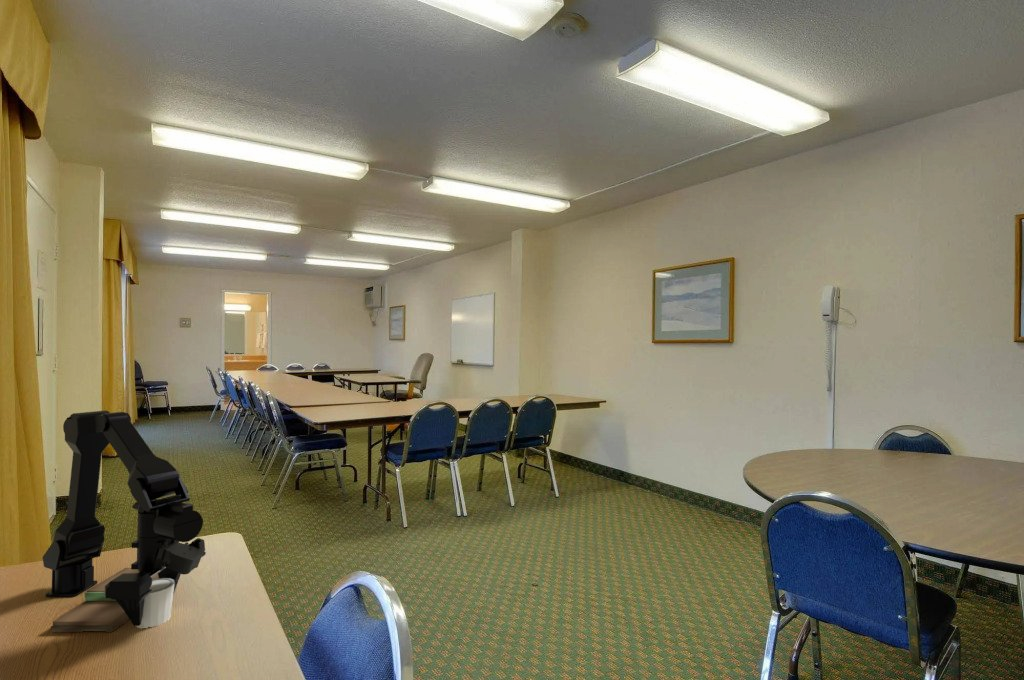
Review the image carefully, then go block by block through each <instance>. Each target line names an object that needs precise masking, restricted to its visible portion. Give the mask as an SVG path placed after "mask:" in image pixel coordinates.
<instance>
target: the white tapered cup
mask: <svg viewBox="0 0 1024 680" xmlns="http://www.w3.org/2000/svg"><path fill="white" fill-rule="evenodd" d="M174 584H175V582H174V580H173V579H171V578H159V579H153V580H152V585H151V587H150V589H152V591H151V592H150V593H149V594H148V595H147V596H146V597H145V600H144V608H143V616H142V621H141V625H139V626H137V627H136V628H138V629H142V628H146V629H149V628H148V627H152V628H154V627H153V626H156V627H159V626H161V625H163V624H162V623H164V622H165V623H167V622H168V621H169V620H170V619H171V615H172V608H173V599H174V595H173V592H174ZM174 593H175V592H174ZM167 620H168V621H167ZM166 621H167V622H166ZM165 623H164V624H165ZM160 624H161V625H160ZM158 625H159V626H158Z"/></svg>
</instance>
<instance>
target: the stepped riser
mask: <svg viewBox="0 0 1024 680" xmlns="http://www.w3.org/2000/svg"><path fill="white" fill-rule="evenodd" d="M139 572H140V571H138V569H131V567H124V568H122V569H121V570H119V571H118V572H116V573H114V574H112V575H111V576H110V577H107V578H106V579H104V580H103V581H101V582H98V583H97V584H95V585H93V586H92V587H90V588H88V589H86V591H84V602H82V603H80V604H79V605H77V606H75V607H74V608H73V609H71V610H69V611H68V612H65V613H64V614H63V615H61V616H59V617H57V618H56V619H55V620H53V621H52V625H51V626H50V630H52V632H51V633H84V632H83V631H106V632H105V633H112V632H114V631H116V630H117V629H118V628H120V627H121V626H122V625H124V624H125V623H127V622H128V621H129V620H130V619H129V617H128V616H127V614H126V613H125V611H124V610H123V609H122V607H121V606H120V605H119V604H118V603H117V601H116V600H111V599H110V598H105V586H106V585H107V584H108V583H109V582H110V581H112V580H113V579H115V578H117V577H118V576H120V575H121V574H123V573H139ZM151 578H152V580H153V579H159V577H158V573H157V574H156V575H154V576H153V577H151ZM119 626H120V627H119Z"/></svg>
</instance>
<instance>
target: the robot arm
mask: <svg viewBox="0 0 1024 680" xmlns="http://www.w3.org/2000/svg"><path fill="white" fill-rule="evenodd" d="M62 429H63V430H62V431H63V433H64V442H66V444H67V446H68V447H69V448H70V449H71V451H72V461H71V472H70V480H69V489H68V490H69V491H68V499H67V507H66V517H65V518H64V519H63V521H62V522H61V523H60V524H59V525H58V527H57V528H56V530H55V531H54V536H53V540H52V543H51V544H50V546H49V547H48V549H47V550H46V551H45V553H44V555H42V563H43V564H42V565H43V567H44V568H45V569H48V570H49V569H50V570H51V590H50V591H48V592H46V593H45V595H44V596H45V597H75V596H78V595H79V594H81V593H83V592H86V591H87V590H89V589H91V588H92V587H94V586H96V585H97V584H98V580H95V573H94V572H95V566H94V565H93V559H95V558H99V557H100V556H101V553H102V550H103V546H104V542H105V529H106V528H105V525H103V524H101V522H100V521H99V519H98V518H97V517H96V510H97V501H98V491H99V482H100V474H101V463H102V456H103V452H104V451H105V449H106V448H107V447H108V445H110V446H111V447H112V448H113V450H114V452H115V453H116V455H117V456H118V458H119V459H120V461H121V462H122V464H123V465H124V466H125V468H126V469H127V471H128V473H129V475H128V479H127V486H128V487H129V490H130V491H129V492H130V494H131V496H132V497H133V498H134V501H136V502H135V503H133V504H132V506H131V508H132V509H133V510H137V528H136V529H137V531H136V534H137V535H136V537H137V538H136V540H134V541H132V542H131V549H136V560H135V562H133V563H131V564H130V565H131V566H130V568H131V569H138V571H140V572H139V573H123V574H121V575H120V576H118V577H117V578H115V579H113V580H112V581H110V582H109V583H108V584H107V585H106V586H105V598H110V599H111V600H116V601H117V603H118V604H119V605H120V606H121V607H122V609H123V610H124V611H125V613H126V614H127V616H128V617H129V620H130V623H131V624H132V625H133V626H134V627H136V626H139V625H141V621H142V616H143V608H144V600H145V597H146V596H147V595H148V594H149V593H150V592H151V591H152V589H150V587H151V585H152V578H151V577H153V576H154V575H156V574H157V573H158V577H159V578H171V579H173V580H174V582H175V584H174V592H173V596H174V595H175V591H176V589H177V585H178V583H179V580H180V577H181V576H182V575H188V574H190V573H191V572H192V571H193V570H194V569H197V568H198V567H199V565H200V562H201V560H202V558H203V557H204V556H206V553H207V552H206V547H205V546H206V545H205V539H204V538H203V539H202V538H199V537H197V536H198V535H199V534H200V532H201V531H202V529H203V526H204V525H203V524H204V519H203V517H202V515H201V513H200V512H198V511H197V510H194V504H193V503H187V502H190V495H189V490H188V488H187V487H186V485H185V484H184V481H183V478H182V476H181V475H180V473H179V471H178V470H177V469H176V467H174V466H173V465H172V464H171V462H169V461H168V460H166V459H164V458H161V457H159V456H156V454H155V453H153V451H152V449H151V448H150V447H149V445H148V443H146V441H145V440H144V438H143V437H142V435H141V434H140V433H139V431H138V429H137V428H136V427H135V426H134V424H133V423H132V418H131V416H130V414H129V413H128V412H124V411H115V412H111V411H108V410H95V411H85V412H75V413H71V414H70V415H69V416H68V417H67V418H66V419H65V420H64V422H63V427H62ZM174 494H175V495H174ZM196 537H197V538H196ZM189 542H190V543H189Z"/></svg>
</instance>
